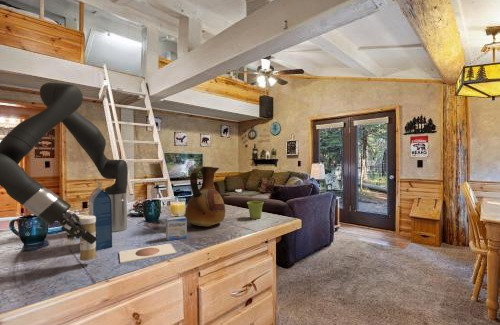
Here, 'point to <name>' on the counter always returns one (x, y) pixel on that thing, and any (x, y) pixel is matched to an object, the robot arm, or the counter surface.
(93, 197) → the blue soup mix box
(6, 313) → the counter surface
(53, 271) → the counter surface
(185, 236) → the medicine box
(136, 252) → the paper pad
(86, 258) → the sprinkles bottle
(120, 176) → the robot arm
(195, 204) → the ceramic pitcher
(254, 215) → the plant pot
